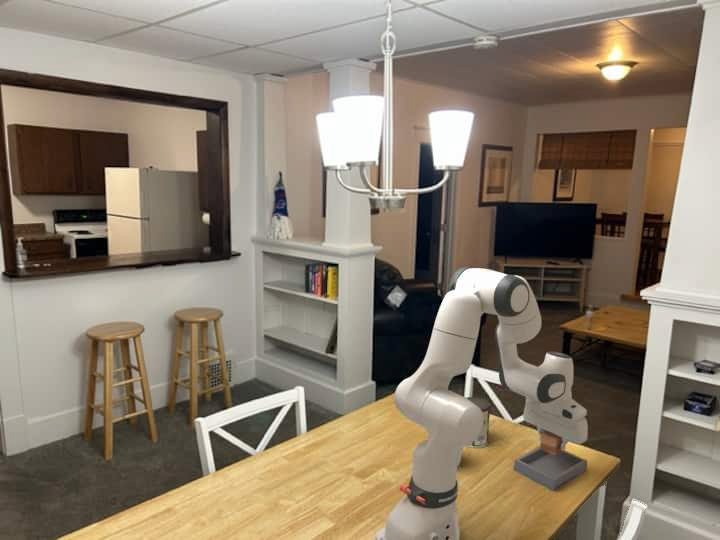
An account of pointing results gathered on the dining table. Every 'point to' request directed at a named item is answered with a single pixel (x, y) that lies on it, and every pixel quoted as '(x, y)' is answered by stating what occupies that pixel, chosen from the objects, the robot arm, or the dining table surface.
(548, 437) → the block
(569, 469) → the tray
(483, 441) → the coffee can
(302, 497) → the dining table surface
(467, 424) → the robot arm
